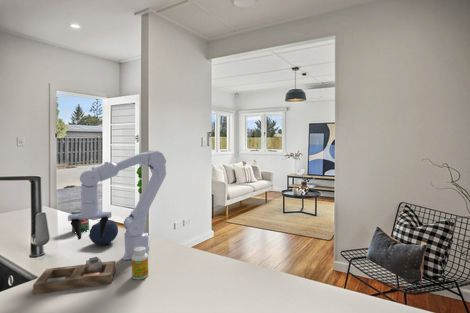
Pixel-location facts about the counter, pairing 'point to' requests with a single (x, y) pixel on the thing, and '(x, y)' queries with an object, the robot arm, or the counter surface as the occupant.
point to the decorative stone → (109, 233)
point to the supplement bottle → (139, 263)
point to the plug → (93, 265)
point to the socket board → (73, 278)
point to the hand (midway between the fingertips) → (91, 237)
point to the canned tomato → (83, 222)
